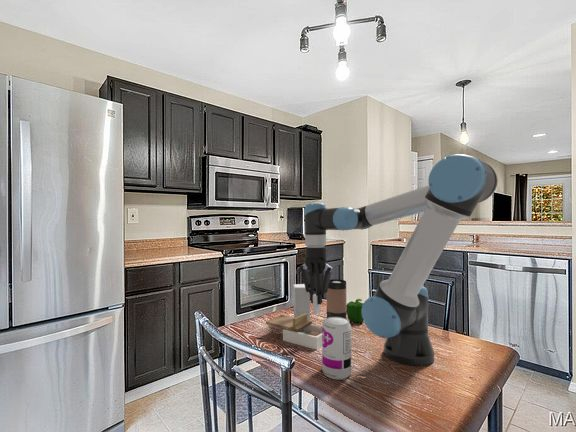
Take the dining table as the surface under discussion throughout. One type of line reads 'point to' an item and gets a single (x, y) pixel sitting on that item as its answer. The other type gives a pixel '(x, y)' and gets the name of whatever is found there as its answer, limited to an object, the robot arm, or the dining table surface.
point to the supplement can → (336, 348)
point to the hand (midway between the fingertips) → (316, 312)
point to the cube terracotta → (314, 333)
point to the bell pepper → (355, 311)
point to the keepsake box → (304, 337)
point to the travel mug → (336, 298)
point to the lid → (290, 322)
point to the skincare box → (301, 300)
